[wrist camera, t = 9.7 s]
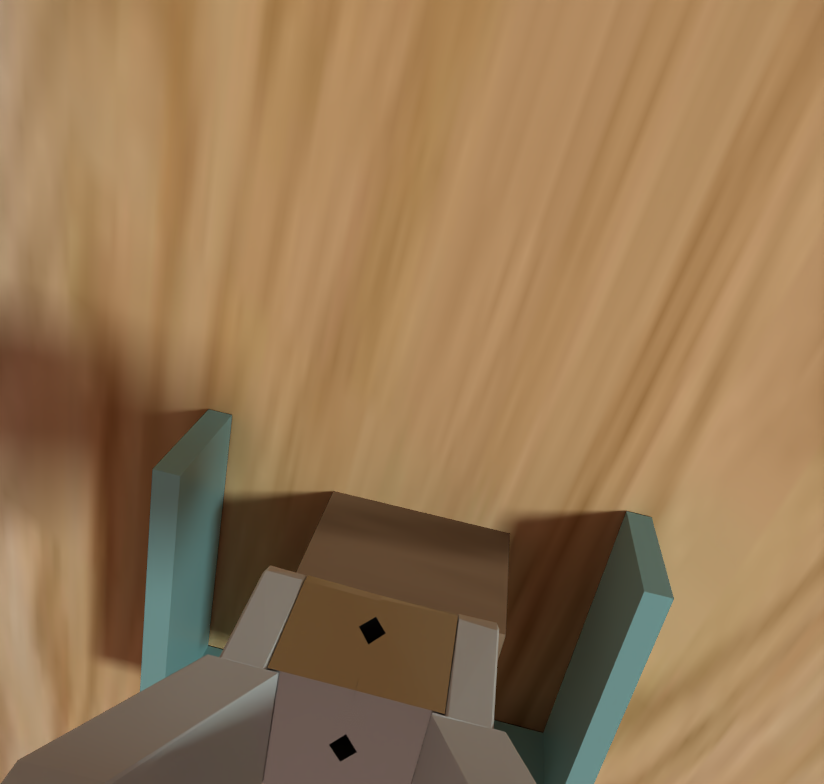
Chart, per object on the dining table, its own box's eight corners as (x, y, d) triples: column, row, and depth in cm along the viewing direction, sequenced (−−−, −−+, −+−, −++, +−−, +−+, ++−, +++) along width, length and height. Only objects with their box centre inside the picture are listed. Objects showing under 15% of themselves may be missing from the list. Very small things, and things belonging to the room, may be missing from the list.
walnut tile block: (334, 489, 25) (291, 581, 21) (509, 531, 25) (505, 635, 20) (311, 626, 28) (268, 735, 23) (470, 665, 27) (459, 785, 23)
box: (208, 409, 24) (152, 468, 21) (651, 517, 24) (673, 598, 20) (186, 655, 29) (137, 740, 25) (558, 753, 28) (562, 855, 24)
